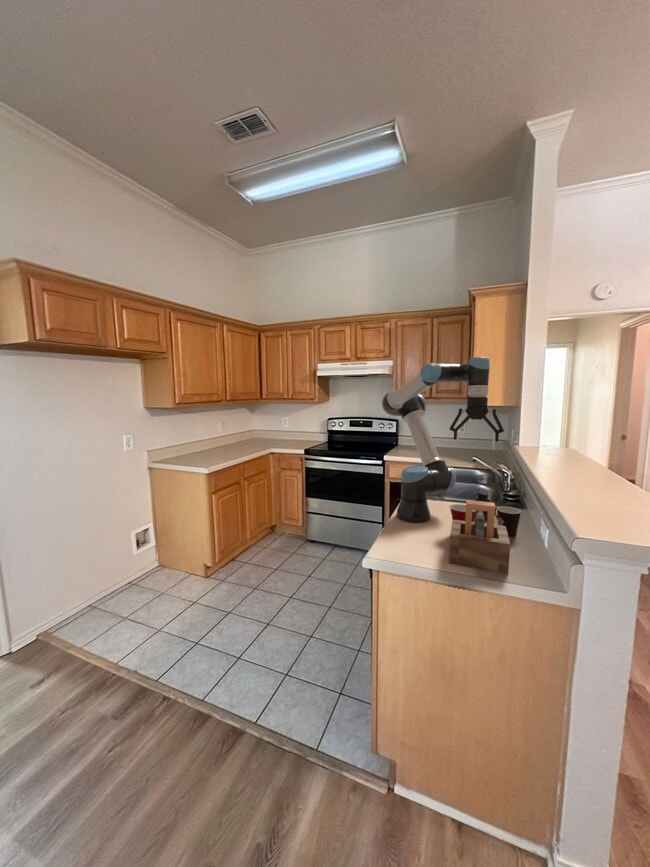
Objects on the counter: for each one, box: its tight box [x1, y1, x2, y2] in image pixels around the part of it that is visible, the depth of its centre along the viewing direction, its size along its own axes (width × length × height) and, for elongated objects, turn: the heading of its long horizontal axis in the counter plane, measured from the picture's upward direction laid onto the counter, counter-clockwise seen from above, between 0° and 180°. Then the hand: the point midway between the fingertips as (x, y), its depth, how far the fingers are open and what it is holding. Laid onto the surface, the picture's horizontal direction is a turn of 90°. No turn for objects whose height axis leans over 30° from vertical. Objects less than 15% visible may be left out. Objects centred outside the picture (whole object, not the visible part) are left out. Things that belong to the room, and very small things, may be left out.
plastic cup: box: [448, 503, 476, 522], centre depth 143 cm, size 11×11×12 cm
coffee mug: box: [495, 506, 522, 538], centre depth 146 cm, size 12×9×10 cm
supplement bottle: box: [473, 490, 492, 521], centre depth 162 cm, size 7×7×12 cm
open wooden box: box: [448, 510, 511, 574], centre depth 123 cm, size 16×18×18 cm
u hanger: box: [465, 499, 496, 538], centre depth 122 cm, size 4×9×13 cm, turn 68°
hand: (475, 448), depth 145 cm, fingers open, 13 cm apart
